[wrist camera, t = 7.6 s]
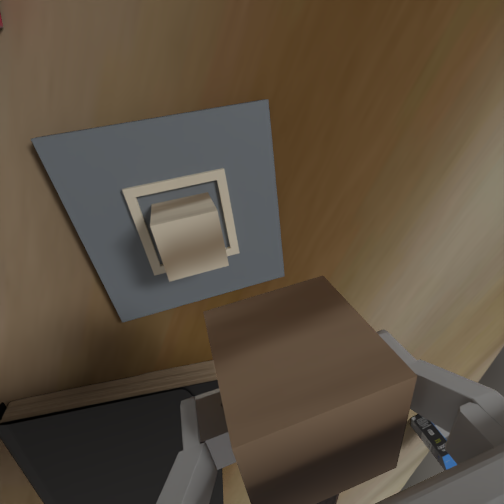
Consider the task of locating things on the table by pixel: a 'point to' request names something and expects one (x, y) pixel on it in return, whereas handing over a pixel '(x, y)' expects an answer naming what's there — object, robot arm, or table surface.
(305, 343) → the walnut block
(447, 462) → the blue grey product box
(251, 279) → the board
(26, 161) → the table surface
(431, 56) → the table surface
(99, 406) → the large dark grey book
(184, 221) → the birch block
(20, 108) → the table surface
